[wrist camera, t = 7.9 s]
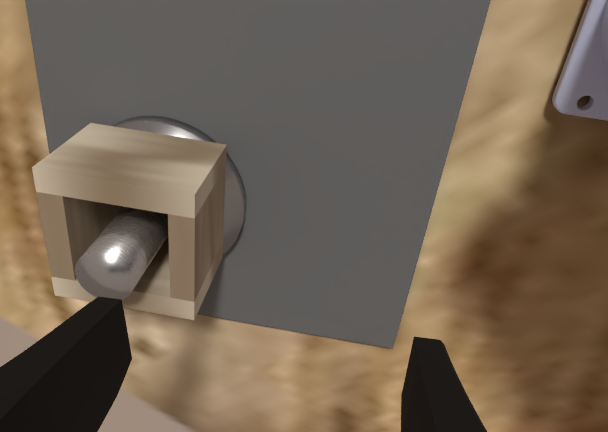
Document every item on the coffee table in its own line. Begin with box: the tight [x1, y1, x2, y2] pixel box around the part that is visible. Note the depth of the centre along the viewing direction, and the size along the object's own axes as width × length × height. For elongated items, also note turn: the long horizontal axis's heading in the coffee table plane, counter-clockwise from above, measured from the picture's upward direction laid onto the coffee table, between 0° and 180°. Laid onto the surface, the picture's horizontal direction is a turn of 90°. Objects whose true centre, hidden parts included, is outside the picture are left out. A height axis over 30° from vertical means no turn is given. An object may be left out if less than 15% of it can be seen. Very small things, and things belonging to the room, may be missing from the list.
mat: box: [25, 0, 490, 349], centre depth 19 cm, size 16×26×1 cm, turn 174°
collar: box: [32, 123, 227, 320], centre depth 20 cm, size 5×5×4 cm
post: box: [75, 116, 247, 300], centre depth 20 cm, size 7×7×6 cm
